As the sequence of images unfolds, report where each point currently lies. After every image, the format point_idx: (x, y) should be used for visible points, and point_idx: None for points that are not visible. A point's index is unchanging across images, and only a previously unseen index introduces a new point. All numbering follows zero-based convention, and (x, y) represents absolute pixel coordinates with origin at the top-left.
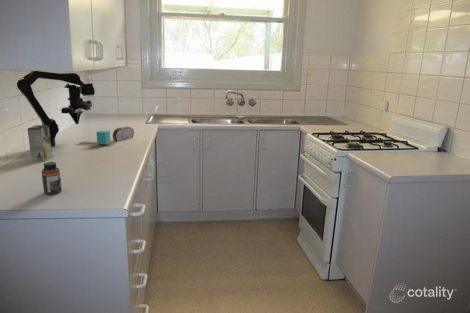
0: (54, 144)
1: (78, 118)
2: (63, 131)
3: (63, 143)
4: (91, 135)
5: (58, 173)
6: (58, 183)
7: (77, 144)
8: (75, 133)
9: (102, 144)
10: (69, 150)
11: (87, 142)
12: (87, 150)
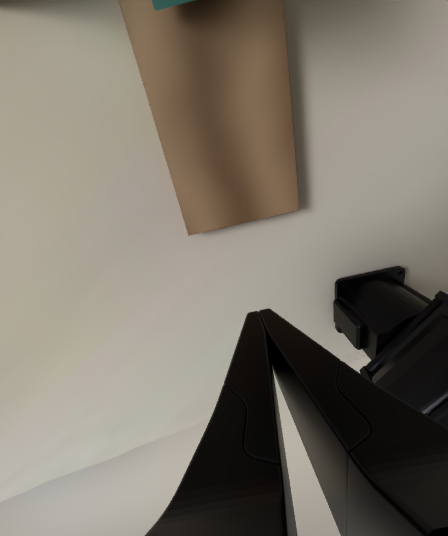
0: (375, 288)
1: (270, 375)
2: (60, 476)
3: None
4: (3, 350)
5: None
6: None
7: (281, 203)
8: (44, 428)
9: None
10: (388, 165)
11: (197, 187)
12: (363, 20)
